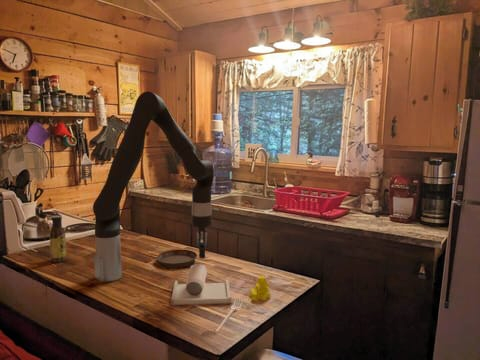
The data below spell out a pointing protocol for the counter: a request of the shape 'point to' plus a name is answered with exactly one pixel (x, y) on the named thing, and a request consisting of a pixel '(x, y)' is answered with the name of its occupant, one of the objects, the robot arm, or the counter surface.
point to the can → (196, 279)
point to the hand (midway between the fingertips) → (202, 257)
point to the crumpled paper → (260, 289)
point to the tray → (202, 294)
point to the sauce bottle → (57, 240)
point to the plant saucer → (176, 258)
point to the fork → (231, 312)
